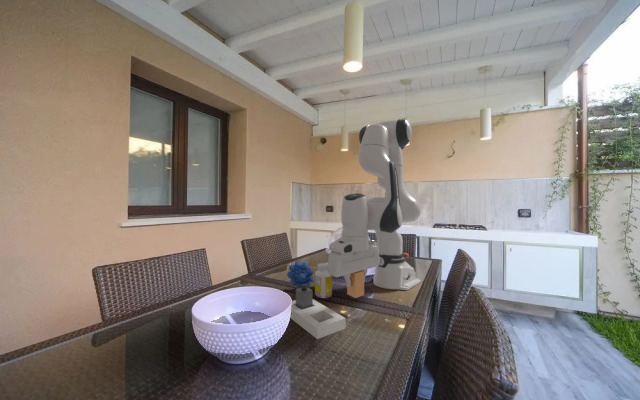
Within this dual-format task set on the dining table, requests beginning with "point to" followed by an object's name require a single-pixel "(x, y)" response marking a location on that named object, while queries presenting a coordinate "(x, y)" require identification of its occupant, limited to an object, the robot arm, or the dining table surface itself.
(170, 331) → the dining table surface
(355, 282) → the plug
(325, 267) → the supplement bottle
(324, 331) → the light grey socket block
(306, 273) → the grapes
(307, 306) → the twin plug
